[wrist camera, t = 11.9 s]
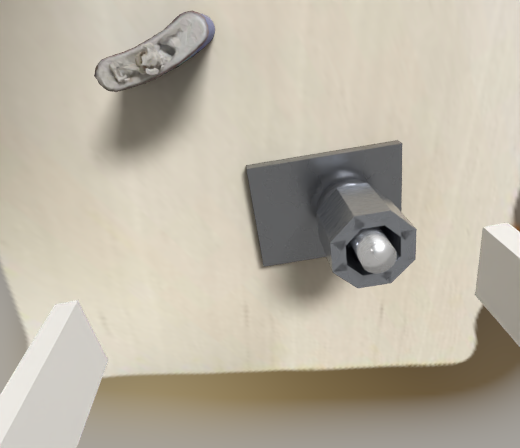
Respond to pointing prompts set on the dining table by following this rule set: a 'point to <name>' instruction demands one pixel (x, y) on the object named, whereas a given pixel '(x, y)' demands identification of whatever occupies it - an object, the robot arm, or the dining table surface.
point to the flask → (156, 53)
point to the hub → (360, 217)
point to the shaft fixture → (321, 201)
